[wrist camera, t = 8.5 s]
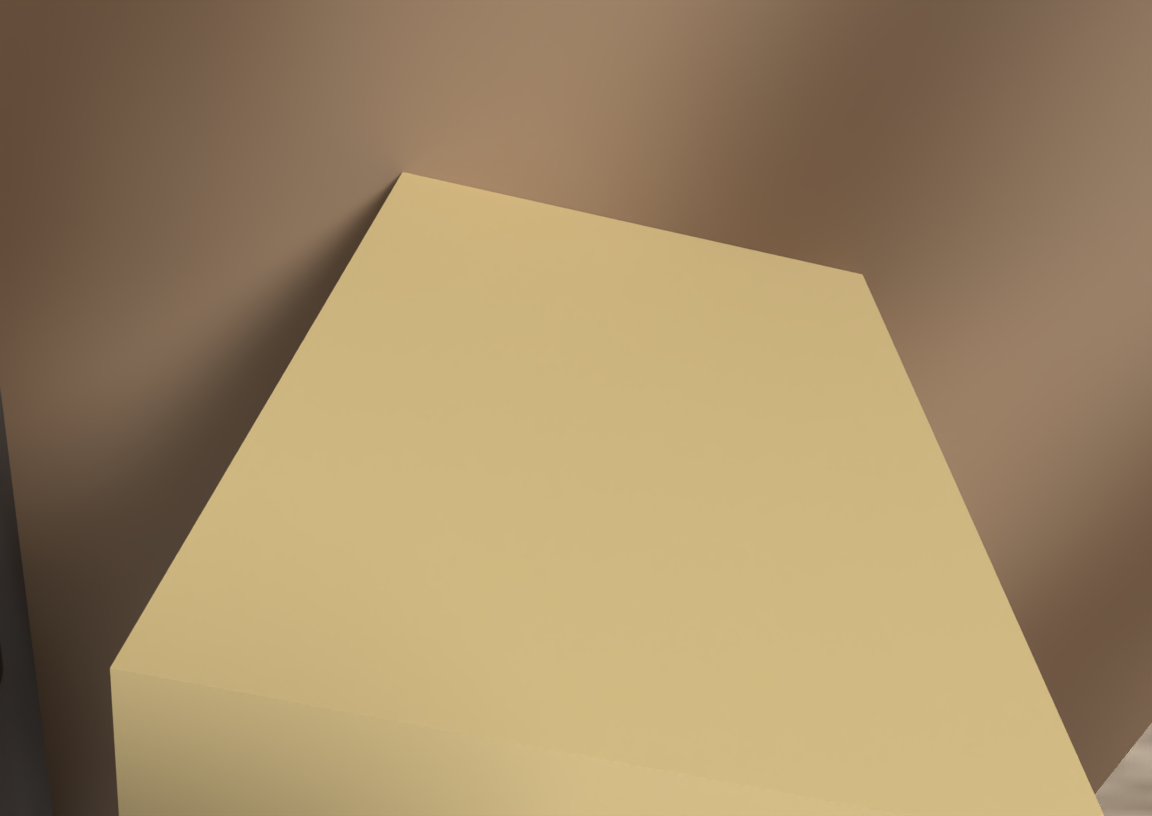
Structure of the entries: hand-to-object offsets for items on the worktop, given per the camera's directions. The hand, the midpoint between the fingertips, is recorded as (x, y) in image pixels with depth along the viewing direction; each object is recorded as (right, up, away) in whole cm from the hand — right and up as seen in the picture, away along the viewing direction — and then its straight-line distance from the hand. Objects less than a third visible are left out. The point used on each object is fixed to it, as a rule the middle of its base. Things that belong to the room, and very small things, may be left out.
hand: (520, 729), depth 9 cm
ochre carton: (0, +2, +3) cm, 3 cm away
